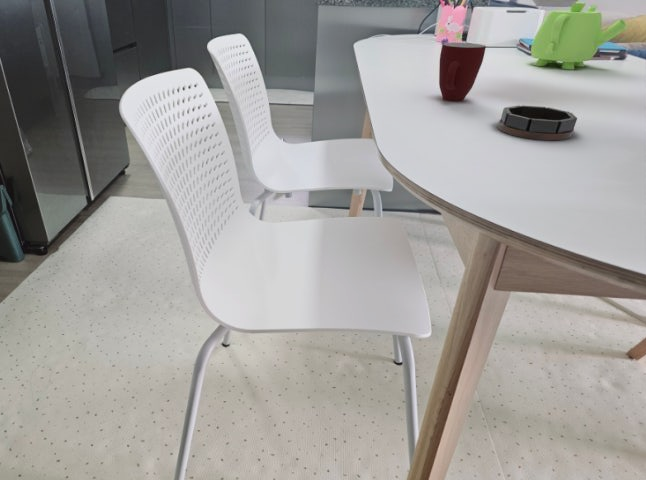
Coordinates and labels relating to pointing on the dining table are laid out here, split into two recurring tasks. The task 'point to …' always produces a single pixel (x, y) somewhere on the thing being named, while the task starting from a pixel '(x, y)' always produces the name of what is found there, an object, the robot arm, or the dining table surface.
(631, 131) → the dining table surface
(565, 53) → the teapot
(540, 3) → the can
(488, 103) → the dining table surface
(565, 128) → the base pad
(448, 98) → the mug
